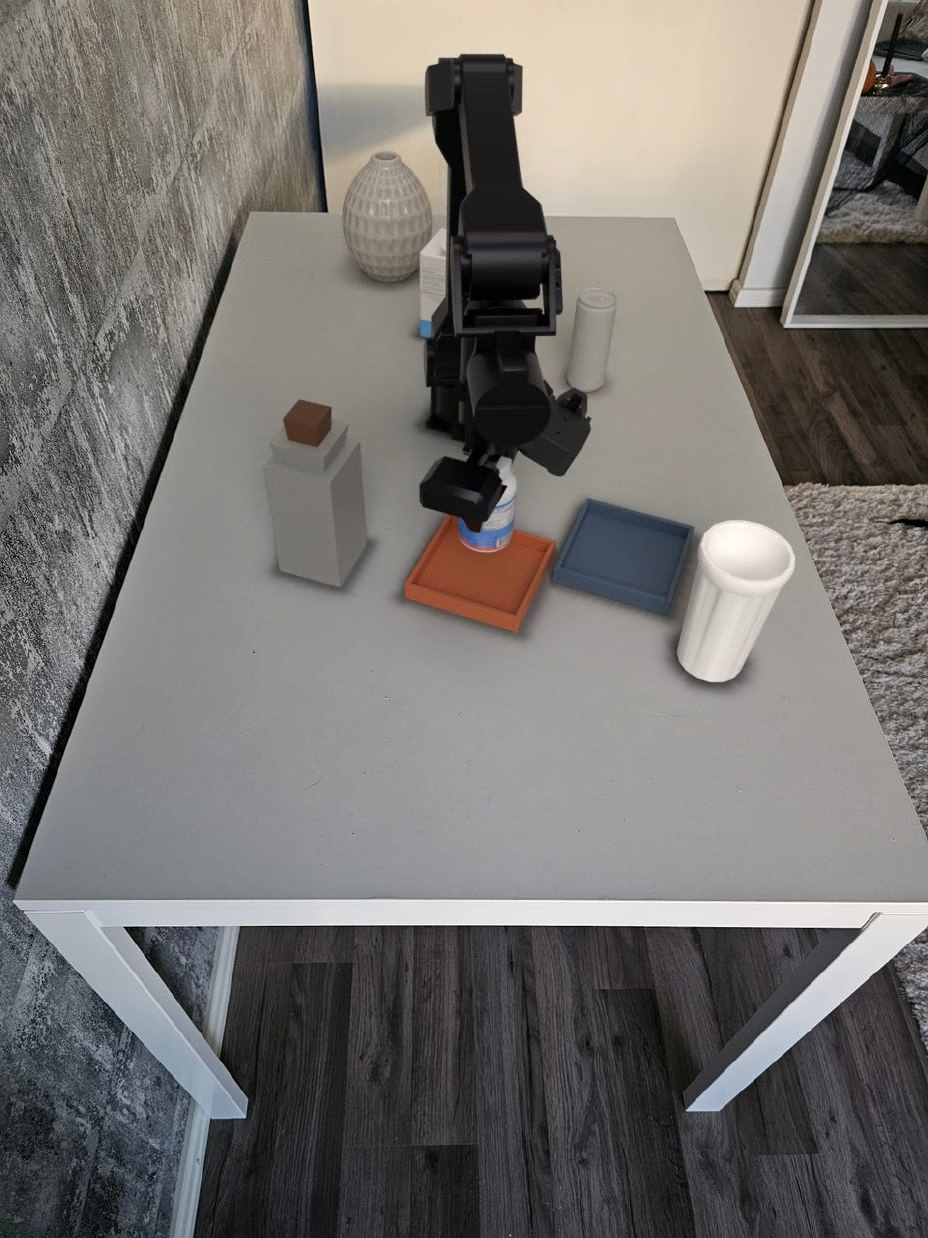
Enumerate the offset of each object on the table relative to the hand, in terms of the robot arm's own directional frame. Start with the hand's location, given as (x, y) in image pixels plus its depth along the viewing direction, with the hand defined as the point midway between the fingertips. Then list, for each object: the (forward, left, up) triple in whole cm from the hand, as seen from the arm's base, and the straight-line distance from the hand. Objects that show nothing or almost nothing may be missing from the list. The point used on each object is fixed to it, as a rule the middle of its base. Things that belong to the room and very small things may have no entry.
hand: (485, 512), depth 87 cm
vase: (-35, +54, -9) cm, 65 cm away
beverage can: (0, +38, -9) cm, 39 cm away
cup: (+24, -2, -9) cm, 26 cm away
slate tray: (+13, +8, -8) cm, 18 cm away
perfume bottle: (-16, -4, -9) cm, 19 cm away
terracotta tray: (0, 0, -9) cm, 9 cm away
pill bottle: (0, 0, -3) cm, 3 cm away
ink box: (-20, +44, -9) cm, 49 cm away
